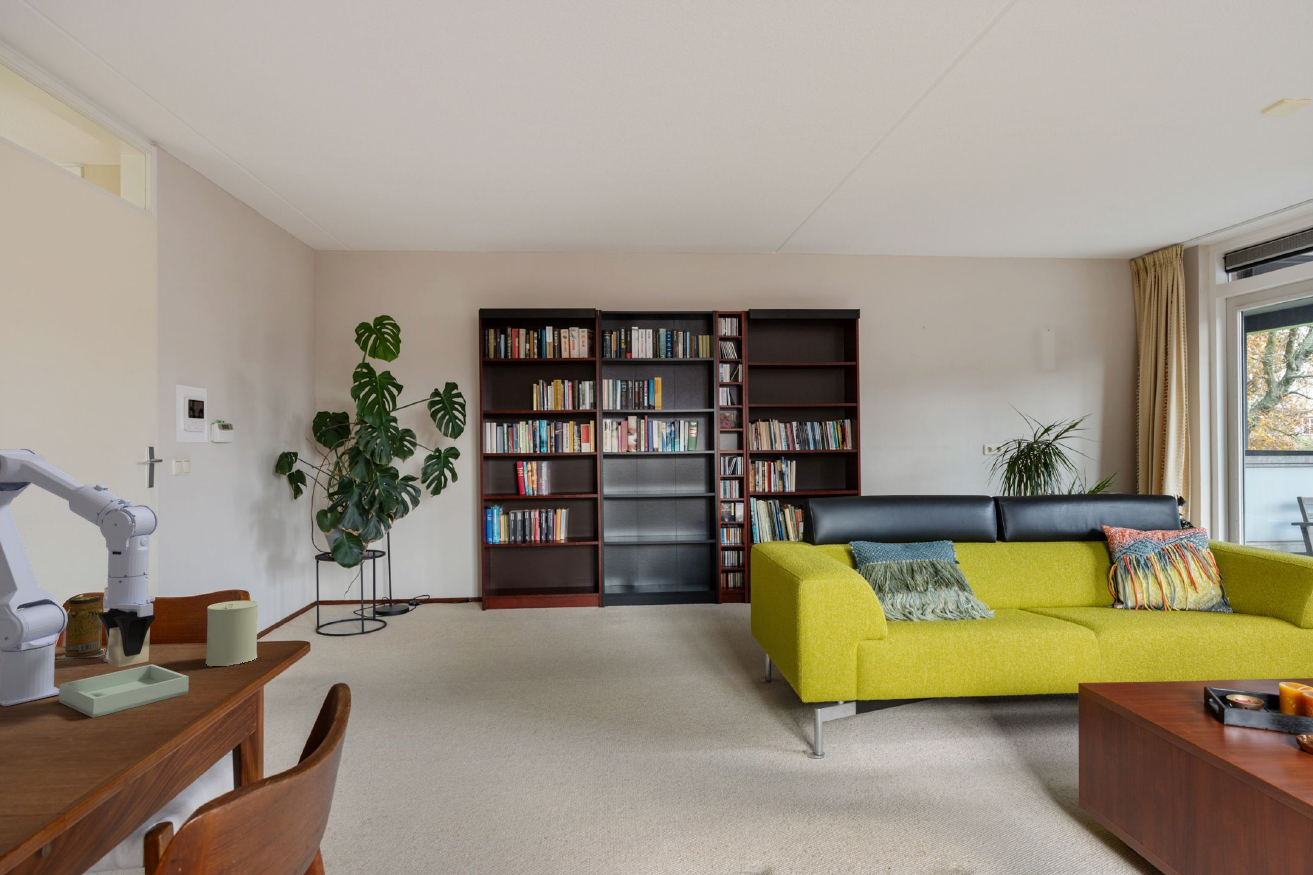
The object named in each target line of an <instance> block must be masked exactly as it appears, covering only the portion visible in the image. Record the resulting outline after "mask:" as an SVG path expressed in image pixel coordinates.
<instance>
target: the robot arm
mask: <svg viewBox="0 0 1313 875" xmlns="http://www.w3.org/2000/svg"><path fill="white" fill-rule="evenodd" d="M32 484H33V485H35V486H37V487H39V488H41V489H42V490H45V491H47V492H49V493H51V494H54V495H55V496H57V497H59V498H62V499H63V500H66V501H68V507H69V510H70V511H71V512H72V513H73V514H76V515H77V516H80V517H81V518H83V519H85V520H86V521H88V522H90V523H92V524H93V525H95V526H97V527H99V530H100V533H101V534H102V536H103V537H104V539H105V541H106V542H105V547H106V548H107V551H108V557H107V558H108V559H107V586H106V587H107V597H104V596H103V598H102V609H103V608H110V610H108V612H102V613H99V614H98V616H99V618H100V619H101V621H102V625H103V626H105V627H104V629H105V628H106V631H107V634H108V638H109V631H110V628H116V627H119V629H120V632H121V636H122V644H123V651H124V654H125V656H126V657H128V656H133V655H138V654H140V653H141V650H142V647H143V643H144V640H145V637H146V634H147V631H148V629H149V627H150V628H151V625H152V623H153V622H154V621H155V619H156V617H157V613H155V612H154V603H151V602H155V601H156V596H152V595H151V596H150V595H149V566H150V565H149V564H150V563H149V561H150V559H149V558H150V536H151V535H153V533H154V532H155V531H156V529H157V527H158V523H159V522H158V516H157V514H156V512H155V511H154V510H153V509H152V508H150V506H149V505H147V504H139V505H138V504H137V505H134V504H133V503H131V500H130V499H128V498H121V497H120V496H118V495H117V494H114V493H113V492H111V491H109V489H110V488H109V486H107V485H106V484H101V483H100V484H96V483H90V484H87V485H86V484H83V483H81V482H80V481H78V480H76V479H75V478H73V477H72V476H71V475H69V474H68V473H66V472H64V471H63V470H61V469H60V468H58V467H57V466H55V465H54V464H52V463H51V462H49V461H48V459H47V457H46V456H45V455H42V454H38V453H37V451H34V450H33V449H30V448H20V449H10V448H9V449H6V448H5V449H0V705H1V706H3V707H7V706H8V707H9V706H14V705H17V704H21V703H26V702H30V701H35V700H39V699H44V698H48V697H49V698H50V697H52V696H59V688H58V687H56V686H55V662H56V657H55V655H56V653H55V652H56V641H59V636H60V634H61V633H62V632H64V631H65V630H66V625H67V621H68V617H67V613H68V612H67V610H66V609H65V607H63V605H61V604H60V603H59V602H58V601H57V598H56V596H55V593H53V592H51V591H49V590H48V589H45V588H43V587H42V586H39V584H38V581H37V577H36V575H35V573H34V569H33V567H32V565H31V562H30V561H31V560H30V559H29V556H28V554H27V553H28V552H27V551H26V548H25V545H24V542H23V539H22V537H21V534H20V532H19V528H18V526H17V523H16V521H15V518H14V515H13V512H12V510H11V507H10V504H11V503H12V501H13V500H14V499H15V498H17V497H18V496H19V495H21V494H22V493H23V492H24V491H25V490H26V489H27V488H29V487H30V486H31V485H32Z"/></svg>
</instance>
